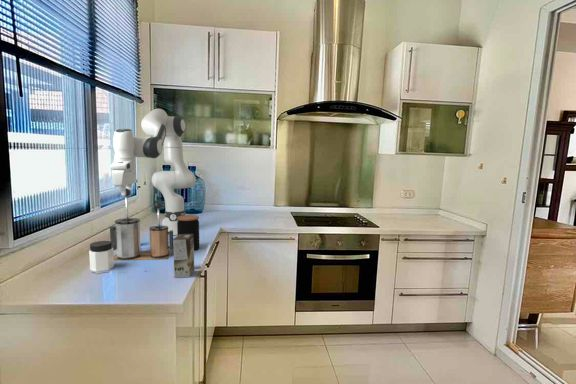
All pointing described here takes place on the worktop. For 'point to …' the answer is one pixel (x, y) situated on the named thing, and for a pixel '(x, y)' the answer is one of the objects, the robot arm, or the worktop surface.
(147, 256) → the board
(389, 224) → the worktop surface
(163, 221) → the robot arm
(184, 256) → the coffee box
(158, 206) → the ball knob plunger
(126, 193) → the steel plunger
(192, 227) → the coffee jar
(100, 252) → the jar
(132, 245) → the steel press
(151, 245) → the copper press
